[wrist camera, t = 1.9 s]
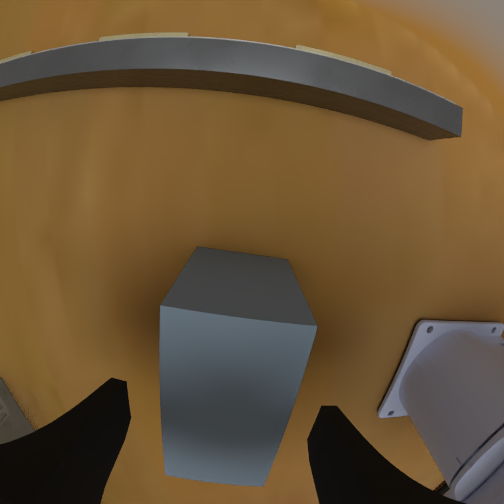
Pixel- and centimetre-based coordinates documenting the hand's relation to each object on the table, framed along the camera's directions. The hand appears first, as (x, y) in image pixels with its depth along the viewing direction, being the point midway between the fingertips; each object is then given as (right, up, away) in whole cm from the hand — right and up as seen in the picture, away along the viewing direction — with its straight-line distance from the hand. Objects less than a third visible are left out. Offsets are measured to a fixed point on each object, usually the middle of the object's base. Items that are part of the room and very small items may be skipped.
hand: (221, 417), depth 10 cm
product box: (0, +2, +6) cm, 7 cm away
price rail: (-4, +15, +3) cm, 16 cm away
